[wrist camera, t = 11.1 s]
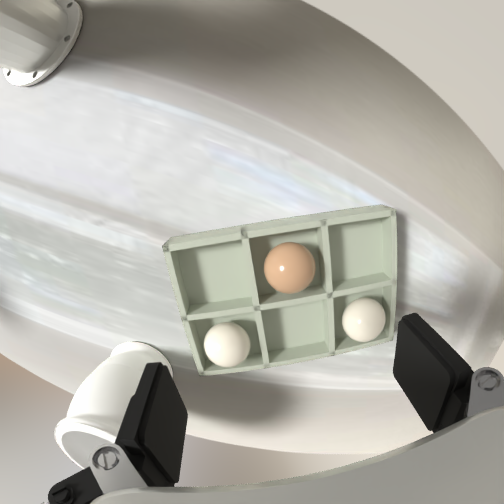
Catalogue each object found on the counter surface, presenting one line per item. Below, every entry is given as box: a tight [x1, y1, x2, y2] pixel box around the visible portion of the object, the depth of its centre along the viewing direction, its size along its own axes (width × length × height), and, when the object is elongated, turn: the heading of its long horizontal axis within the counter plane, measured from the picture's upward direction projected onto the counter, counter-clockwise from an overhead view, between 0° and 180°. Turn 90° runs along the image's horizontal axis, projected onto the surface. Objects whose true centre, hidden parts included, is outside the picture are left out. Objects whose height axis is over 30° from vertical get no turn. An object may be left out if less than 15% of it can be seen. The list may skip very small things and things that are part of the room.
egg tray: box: [162, 205, 397, 376], centre depth 29 cm, size 15×22×3 cm
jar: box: [54, 342, 173, 469], centre depth 25 cm, size 11×10×15 cm
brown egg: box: [264, 242, 316, 294], centre depth 26 cm, size 5×5×5 cm
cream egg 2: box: [342, 297, 386, 342], centre depth 28 cm, size 5×5×5 cm
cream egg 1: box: [204, 322, 250, 367], centre depth 28 cm, size 5×5×5 cm
